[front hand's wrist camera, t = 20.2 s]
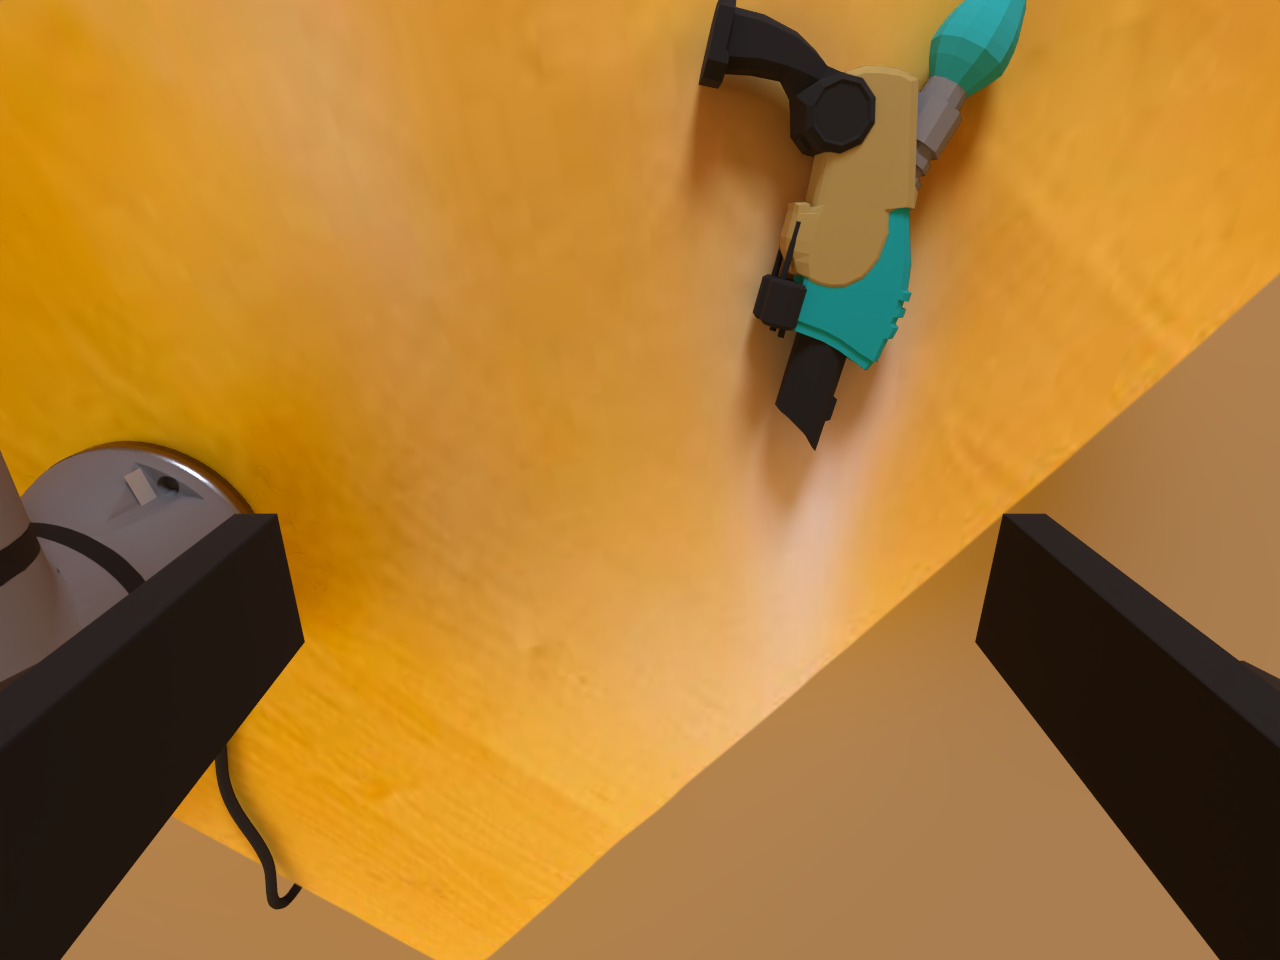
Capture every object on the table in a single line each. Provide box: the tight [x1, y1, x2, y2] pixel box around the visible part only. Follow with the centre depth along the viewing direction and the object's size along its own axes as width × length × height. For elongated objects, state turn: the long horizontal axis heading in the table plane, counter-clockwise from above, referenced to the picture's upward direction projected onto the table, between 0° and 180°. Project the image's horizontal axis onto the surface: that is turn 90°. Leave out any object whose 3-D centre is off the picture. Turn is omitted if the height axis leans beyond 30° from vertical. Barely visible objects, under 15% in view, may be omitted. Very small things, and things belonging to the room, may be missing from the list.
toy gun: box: [699, 0, 1026, 450], centre depth 37 cm, size 4×26×15 cm
